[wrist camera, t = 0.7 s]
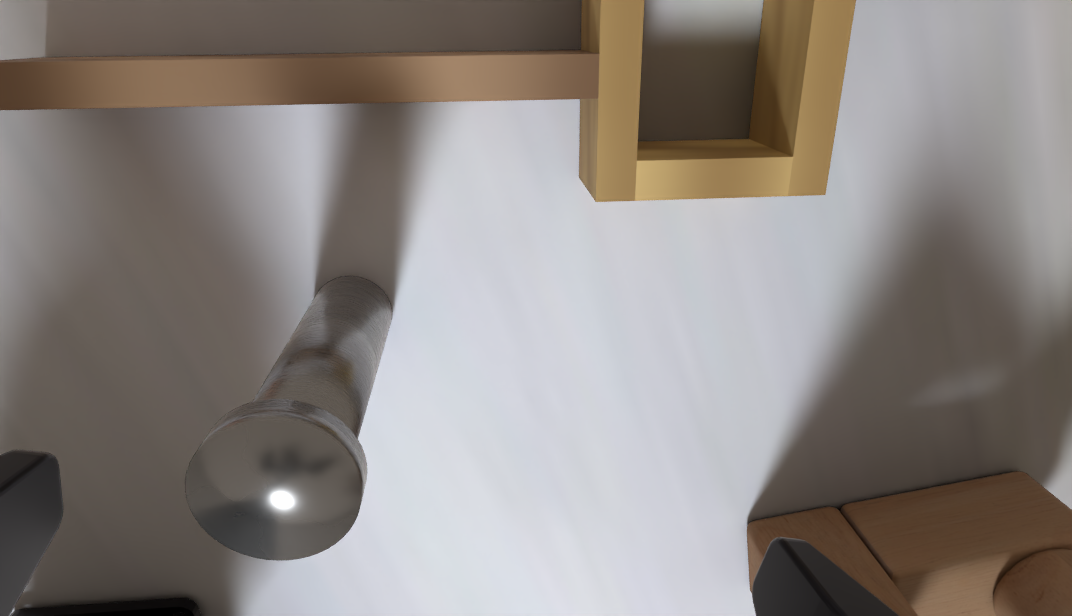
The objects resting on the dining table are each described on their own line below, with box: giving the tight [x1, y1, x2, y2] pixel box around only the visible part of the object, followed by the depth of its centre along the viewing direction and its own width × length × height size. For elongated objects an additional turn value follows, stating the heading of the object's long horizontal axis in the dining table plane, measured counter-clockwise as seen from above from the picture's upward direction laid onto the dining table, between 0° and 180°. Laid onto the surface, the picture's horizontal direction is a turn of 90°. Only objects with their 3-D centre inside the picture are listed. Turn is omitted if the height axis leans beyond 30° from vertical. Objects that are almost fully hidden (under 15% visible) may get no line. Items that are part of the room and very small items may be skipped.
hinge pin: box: [185, 276, 392, 560], centre depth 17 cm, size 3×3×9 cm
